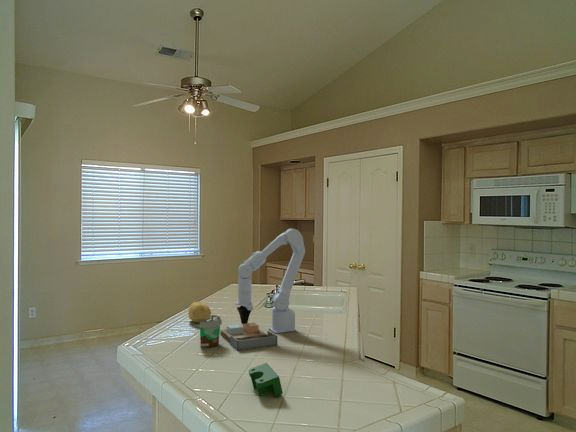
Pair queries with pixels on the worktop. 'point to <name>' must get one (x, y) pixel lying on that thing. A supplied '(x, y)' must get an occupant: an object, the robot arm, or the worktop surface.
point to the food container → (210, 332)
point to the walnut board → (243, 335)
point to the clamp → (265, 380)
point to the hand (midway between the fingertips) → (244, 323)
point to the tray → (254, 342)
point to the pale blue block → (234, 329)
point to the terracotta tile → (250, 327)
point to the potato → (199, 312)
